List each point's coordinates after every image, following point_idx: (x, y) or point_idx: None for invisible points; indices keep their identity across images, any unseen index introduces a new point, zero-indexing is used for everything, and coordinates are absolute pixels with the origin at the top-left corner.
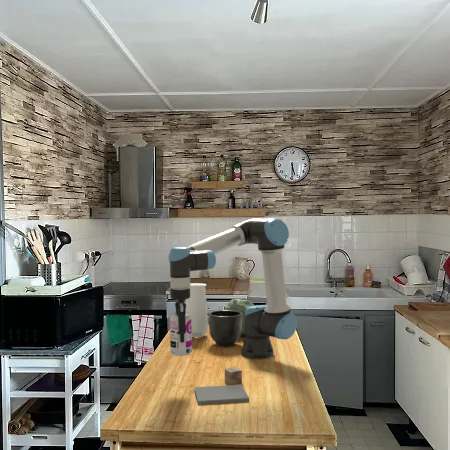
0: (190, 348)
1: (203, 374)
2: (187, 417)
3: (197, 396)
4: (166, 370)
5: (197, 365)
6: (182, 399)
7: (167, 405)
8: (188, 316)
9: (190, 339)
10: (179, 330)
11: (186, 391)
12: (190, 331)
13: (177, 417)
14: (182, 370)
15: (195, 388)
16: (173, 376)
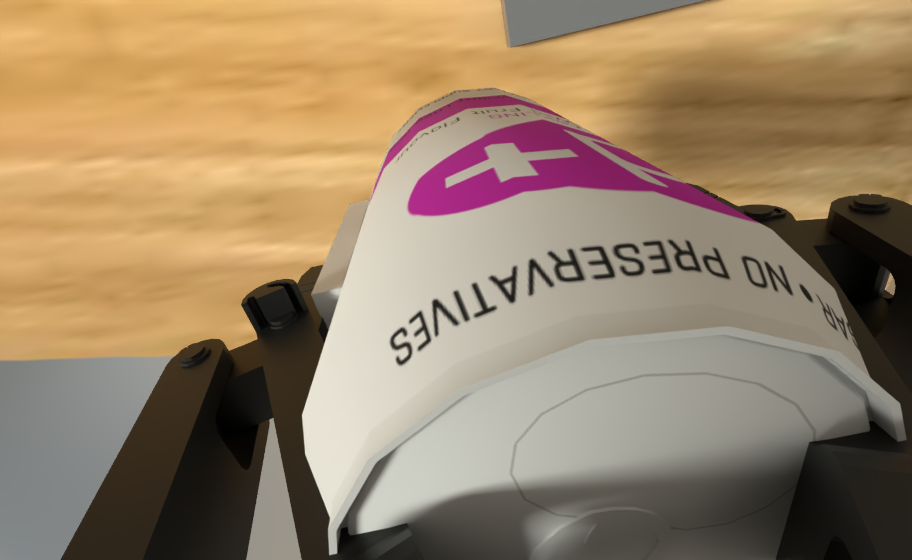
0: (534, 103)
1: (195, 16)
2: (881, 38)
3: (669, 6)
4: (195, 262)
5: (12, 86)
6: (639, 101)
7: (704, 165)
8: (807, 317)
9: (558, 117)
10: (887, 308)
11: (522, 95)
12: (594, 138)
13: (862, 91)
14: (162, 174)
15: (533, 37)
16: (286, 208)
